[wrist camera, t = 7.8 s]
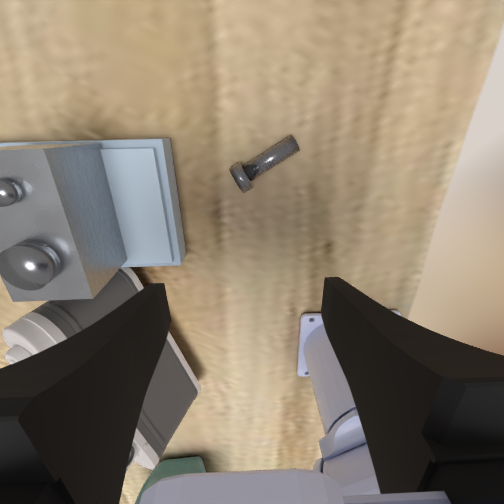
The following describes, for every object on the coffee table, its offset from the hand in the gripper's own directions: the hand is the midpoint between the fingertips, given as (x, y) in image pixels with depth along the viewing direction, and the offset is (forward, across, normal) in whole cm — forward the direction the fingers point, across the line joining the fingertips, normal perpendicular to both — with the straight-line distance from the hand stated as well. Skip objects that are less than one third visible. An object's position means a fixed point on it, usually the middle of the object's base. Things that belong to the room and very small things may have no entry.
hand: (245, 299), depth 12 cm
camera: (+11, +12, +11) cm, 19 cm away
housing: (+8, +11, -2) cm, 14 cm away
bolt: (+10, -2, -5) cm, 12 cm away
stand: (+10, +11, -2) cm, 15 cm away
